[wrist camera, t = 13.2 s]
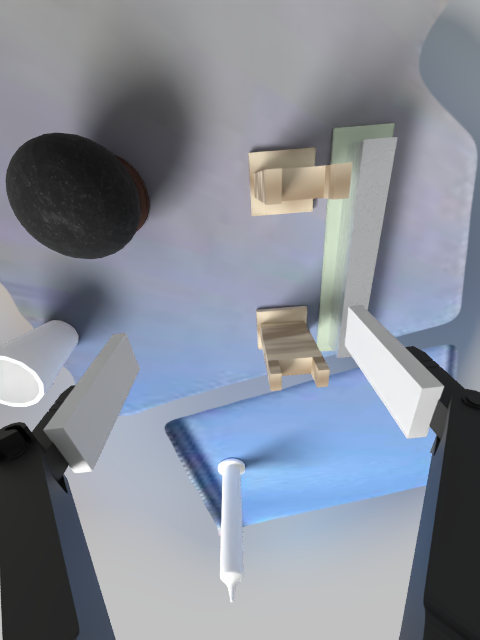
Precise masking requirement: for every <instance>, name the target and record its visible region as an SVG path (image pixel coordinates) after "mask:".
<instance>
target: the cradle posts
mask: <svg viewBox="0 0 480 640" xmlns="http://www.w3.org/2000/svg"><path fill="white" fill-rule="evenodd" d="M315 152H316V147H312V148H301V149H289V150H277V151H265V152H253V153H249V172H250V192H251V213H252V216H260V215H272V214H285V213H297V212H309V211H312V209H313V199H316V198H327V199H333V200H334V199H346V198H349V190H350V181H351V172H352V163H353V162H351V163H339V164H332V165H326V166H315ZM256 314H257V334H258V349H263V353H264V358H265V363H266V368H267V373H268V379H269V384H270V389H271V391H277V390H282V384H281V383H282V381H281V380H282V379H281V377H282V376H284V375H298V374H312V376H313V379H314V381H315V383H316V386H317V387H328V380H329V371H330V369H329V367H328V366H327V363H326V362H325V360H324V358H323V356H322V354H321V352H320V350H319V348H318V346H317V345H316V343H315V341H314V339H313V337H312V335H311V333H310V331H309V329H308V327H307V326H306V324H307V307H306V306H296V307H284V308H272V309H259V310H256Z"/></svg>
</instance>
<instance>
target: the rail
mask: <svg viewBox="0 0 480 640" xmlns="http://www.w3.org/2000/svg"><path fill="white" fill-rule="evenodd" d="M397 138H398V137H390V138H378V139H366V140H362V141H358V142H355V143H352V144H349V145H347V155H346V163H351V162H353V163H352V172H351V181H350V190H349V198H346V199H342V205H341V215H340V225H339V235H338V245H337V255H336V265H335V275H334V285H333V295H332V305H331V316H330V326H329V336H328V344H329V345H330V347H331V349H332V350H333V352H334V353H335V355H336V357H337V358H341V357H352V355H351V354H350V353H349V351H348V350H347V348H346V347H345V338H346V328H347V317H348V307H349V306H356V305H363V306H364V307H365V308H366V309H367V310H368V306H369V300H370V294H371V288H372V282H373V277H374V271H375V265H376V259H377V253H378V248H379V242H380V236H381V230H382V224H383V219H384V213H385V207H386V201H387V196H388V190H389V184H390V178H391V172H392V167H393V161H394V155H395V149H396V143H397Z"/></svg>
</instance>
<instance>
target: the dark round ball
mask: <svg viewBox="0 0 480 640" xmlns="http://www.w3.org/2000/svg"><path fill="white" fill-rule="evenodd" d="M6 190H7V195H8V199H9V202H10V205H11V207H12V209H13V211H14V214H15V216H16V217H17V219H18V220H19V222H20V223H21V225H22V226H23V227H24V228H25V229H26V230H27V231H28V233H29V234H30V235H32V236H33V237H34V238H35V239H36V240H37V241H39V242H40V243H42V244H43V245H45V246H46V247H48V248H50V249H52V250H54V251H56V252H58V253H61V254H63V255H66V256H70V257H74V258H83V259H96V258H102V257H105V256H108V255H111V254H114V253H116V252H117V251H119V250H121V249H122V248H123V247H124V246H125V245H126V244H127V243H128V242H129V241H130V240H131V239H132V238H133V236H134V234H135V233H136V232H137V231H138V230H139V229H140V228H141V227H142V226H143V224H144V223H145V221H146V219H147V216H148V212H149V196H148V192H147V188H146V186H145V184H144V181H143V180H142V178H141V176H140V175H139V173H138V172H137V171H136V170H135V169H134V168H133V167H132V166H131V165H130V164H129V163H128V162H126V161H125V160H123V159H122V158H120V157H118V156H116V155H113V154H112V153H111V152H109V151H108V150H107V149H106V148H104V147H102V146H100V145H99V144H97V143H95V142H93V141H91V140H89V139H87V138H84V137H81V136H78V135H74V134H65V133H50V134H43V135H41V136H38V137H36V138H33V139H31V140H29V141H27V142H26V143H24V144H23V145H22V146H21V147H19V149H18V150H17V151H16V153H15V154H14V156H13V157H12V159H11V161H10V163H9V166H8V169H7V174H6Z"/></svg>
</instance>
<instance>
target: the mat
mask: <svg viewBox="0 0 480 640" xmlns="http://www.w3.org/2000/svg"><path fill="white" fill-rule="evenodd" d="M394 125H395V123H389V124H377V125H365V126H353V127H342V128H334V129H333V137H332V150H331V163H330V165H332V164H339V163H346V155H347V145H349V144H352V143H355V142H358V141H362V140H366V139H378V138H390V137H393V131H394ZM341 205H342V199H334V200H333V199H328V203H327V216H326V229H325V242H324V255H323V268H322V281H321V294H320V307H319V320H318V334H317V346H318V348H319V350H320V351H333V350H332V349H331V347H330V345H329V344H328V336H329V326H330V316H331V305H332V295H333V285H334V275H335V265H336V255H337V245H338V235H339V225H340V215H341Z"/></svg>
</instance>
